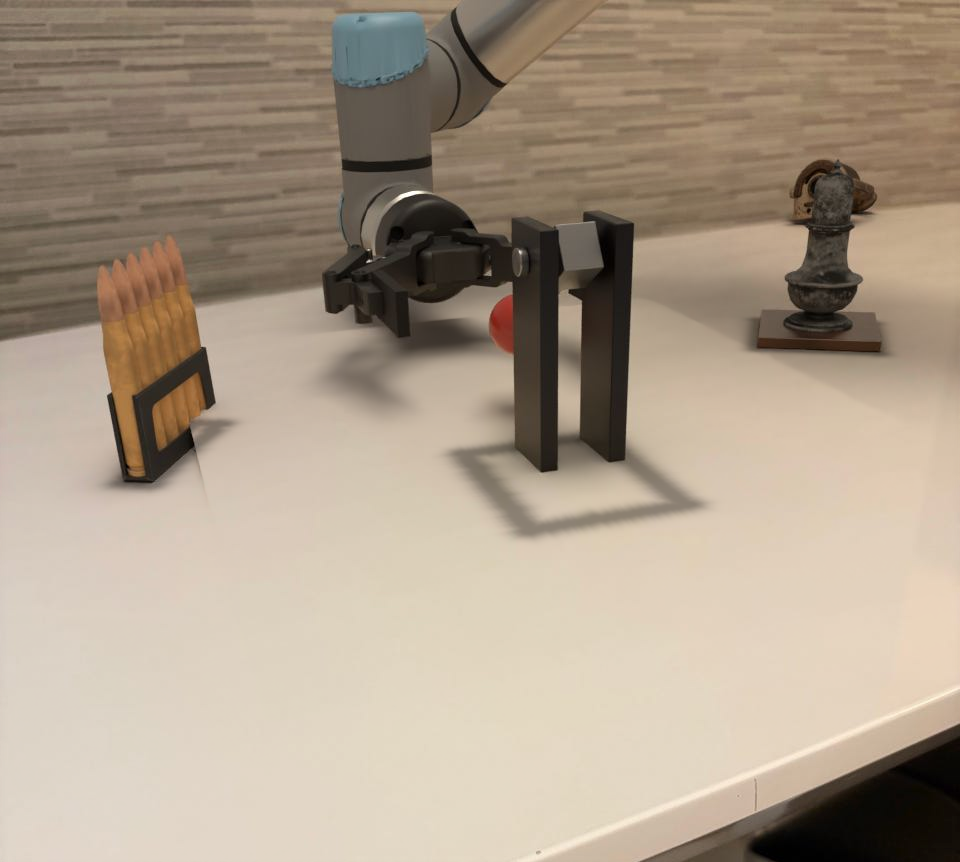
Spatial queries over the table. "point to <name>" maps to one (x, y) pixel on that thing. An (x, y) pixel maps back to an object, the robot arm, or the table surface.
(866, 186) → the mechanical counter
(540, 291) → the bracket
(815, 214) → the salt shaker
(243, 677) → the table surface
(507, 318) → the lever
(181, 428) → the ammunition clip
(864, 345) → the coaster
